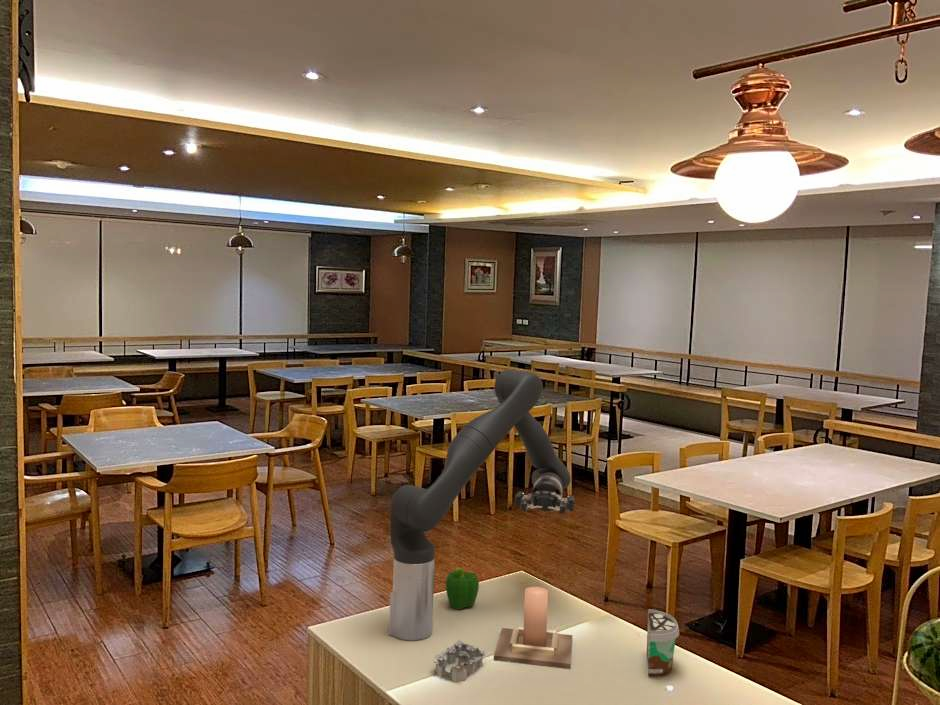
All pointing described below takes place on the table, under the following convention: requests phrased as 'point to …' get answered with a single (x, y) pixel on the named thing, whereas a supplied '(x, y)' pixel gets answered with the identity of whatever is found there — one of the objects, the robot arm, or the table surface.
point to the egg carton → (466, 661)
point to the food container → (660, 643)
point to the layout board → (534, 649)
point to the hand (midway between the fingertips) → (542, 508)
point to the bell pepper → (461, 588)
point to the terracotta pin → (535, 616)
